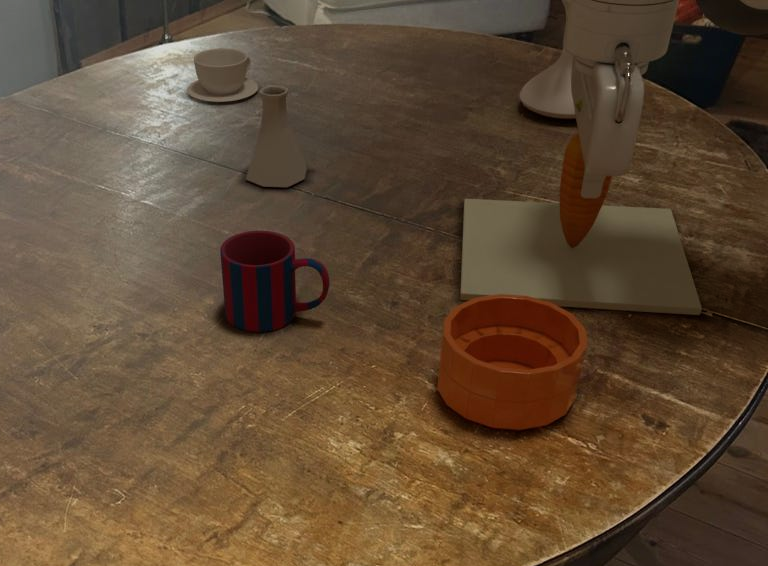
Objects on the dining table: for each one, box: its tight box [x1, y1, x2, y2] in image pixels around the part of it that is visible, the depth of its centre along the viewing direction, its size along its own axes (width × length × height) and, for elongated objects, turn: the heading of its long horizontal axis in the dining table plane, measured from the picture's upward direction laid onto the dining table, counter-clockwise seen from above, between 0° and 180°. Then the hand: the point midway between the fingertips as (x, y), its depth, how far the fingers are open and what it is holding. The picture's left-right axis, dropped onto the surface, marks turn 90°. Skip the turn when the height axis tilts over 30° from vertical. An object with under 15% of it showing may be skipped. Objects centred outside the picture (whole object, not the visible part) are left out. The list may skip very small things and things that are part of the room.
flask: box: [245, 84, 308, 188], centre depth 106 cm, size 7×7×10 cm
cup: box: [219, 230, 330, 333], centre depth 85 cm, size 7×10×7 cm
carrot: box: [559, 100, 618, 248], centre depth 89 cm, size 5×5×15 cm
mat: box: [459, 198, 703, 316], centre depth 94 cm, size 22×20×1 cm
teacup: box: [186, 47, 259, 103], centre depth 128 cm, size 10×10×5 cm
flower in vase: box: [518, 0, 576, 120], centre depth 113 cm, size 13×11×25 cm
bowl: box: [436, 294, 588, 431], centre depth 76 cm, size 11×11×6 cm
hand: (586, 180), depth 89 cm, fingers closed on carrot, 5 cm apart
